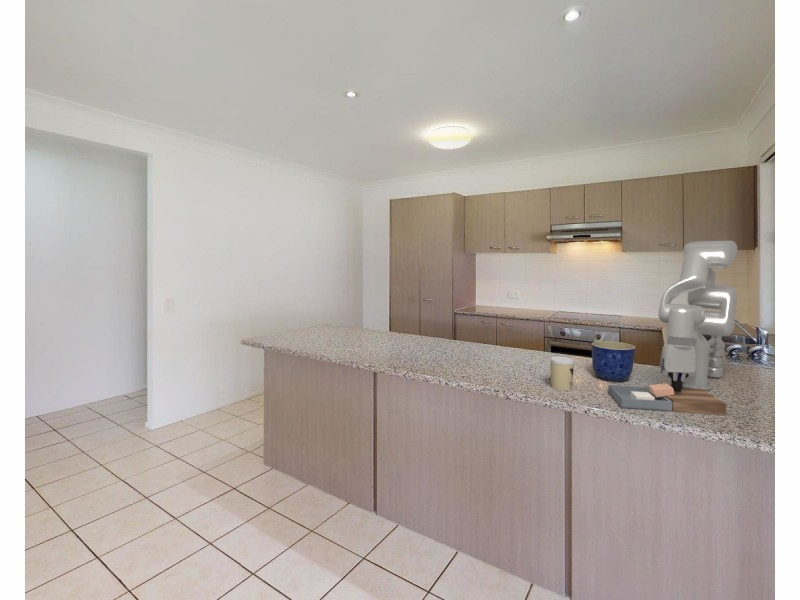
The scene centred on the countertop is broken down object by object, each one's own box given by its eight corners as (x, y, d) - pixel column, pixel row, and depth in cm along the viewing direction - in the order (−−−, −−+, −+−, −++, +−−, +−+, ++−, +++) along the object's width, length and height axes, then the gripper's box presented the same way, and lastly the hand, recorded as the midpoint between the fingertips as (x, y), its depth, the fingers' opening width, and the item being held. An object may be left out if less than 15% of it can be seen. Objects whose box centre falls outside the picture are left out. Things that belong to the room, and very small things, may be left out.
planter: (640, 385, 168) (642, 349, 167) (597, 383, 171) (599, 348, 169) (624, 374, 185) (626, 341, 183) (585, 372, 188) (586, 340, 186)
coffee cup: (575, 391, 161) (577, 362, 159) (551, 390, 163) (552, 361, 161) (570, 384, 170) (571, 356, 169) (547, 383, 172) (548, 356, 170)
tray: (608, 393, 158) (608, 385, 158) (653, 396, 155) (653, 387, 155) (621, 408, 143) (622, 398, 142) (671, 411, 140) (672, 401, 139)
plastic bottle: (714, 374, 183) (717, 331, 181) (726, 379, 176) (730, 334, 174) (700, 375, 183) (703, 331, 181) (712, 379, 176) (715, 334, 174)
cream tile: (648, 392, 151) (647, 398, 151) (630, 391, 152) (630, 397, 152) (654, 397, 145) (654, 404, 145) (636, 396, 146) (636, 403, 146)
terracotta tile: (649, 391, 151) (648, 385, 151) (667, 389, 149) (665, 382, 149) (656, 397, 145) (654, 390, 145) (674, 394, 143) (673, 387, 143)
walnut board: (653, 396, 155) (654, 386, 155) (700, 399, 152) (701, 388, 151) (672, 411, 139) (673, 400, 139) (725, 415, 136) (726, 403, 136)
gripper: (697, 339, 146) (694, 388, 148) (652, 338, 149) (649, 386, 151) (709, 344, 139) (705, 395, 141) (661, 342, 142) (658, 393, 144)
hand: (676, 390), depth 146 cm, fingers closed
